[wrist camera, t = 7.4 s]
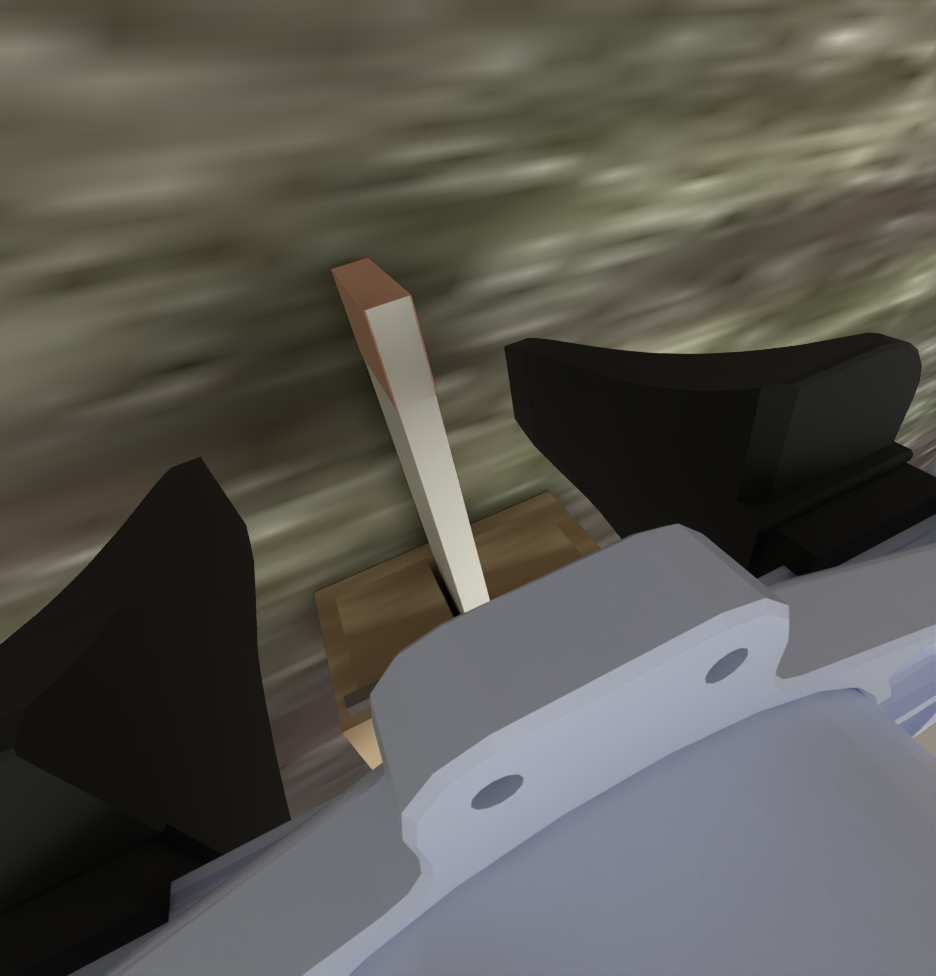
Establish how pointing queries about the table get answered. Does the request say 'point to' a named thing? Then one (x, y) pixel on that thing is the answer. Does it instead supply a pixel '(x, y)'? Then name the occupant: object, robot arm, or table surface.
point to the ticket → (413, 421)
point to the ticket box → (430, 601)
